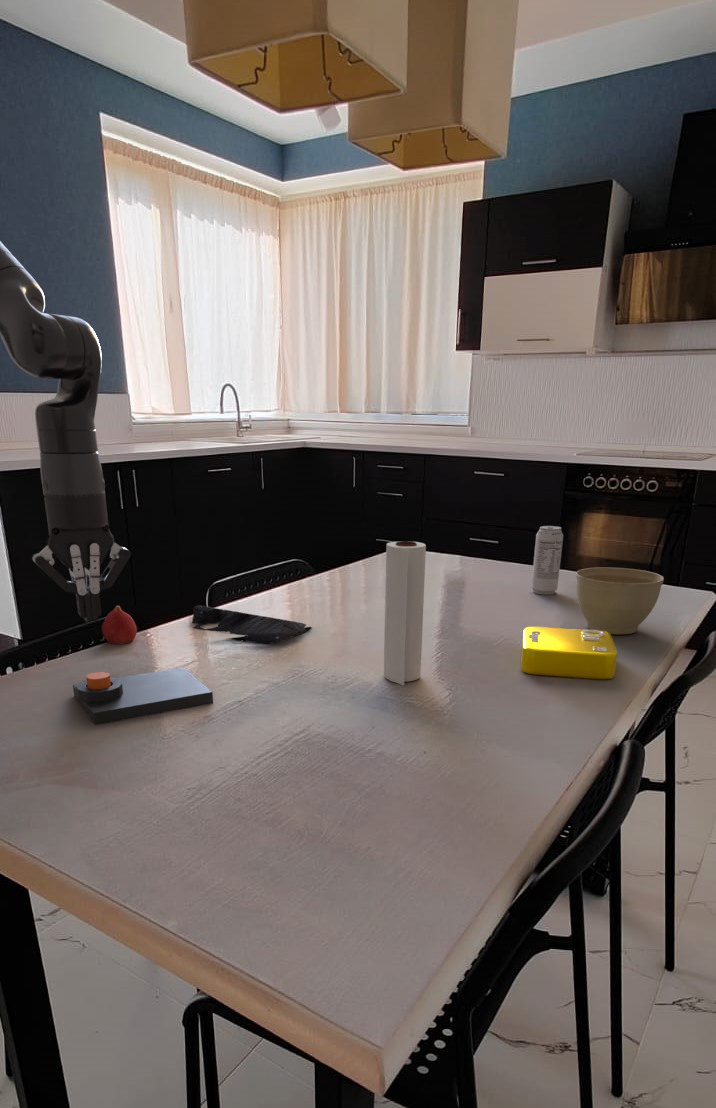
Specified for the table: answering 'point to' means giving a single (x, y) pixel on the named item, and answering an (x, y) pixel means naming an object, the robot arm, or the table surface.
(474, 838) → the table surface
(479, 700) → the table surface
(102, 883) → the table surface
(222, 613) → the dark slate chunk
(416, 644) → the paper towel roll
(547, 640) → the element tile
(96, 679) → the button
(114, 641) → the onion
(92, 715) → the scale
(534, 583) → the energy drink can
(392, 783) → the table surface
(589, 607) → the planter bowl
